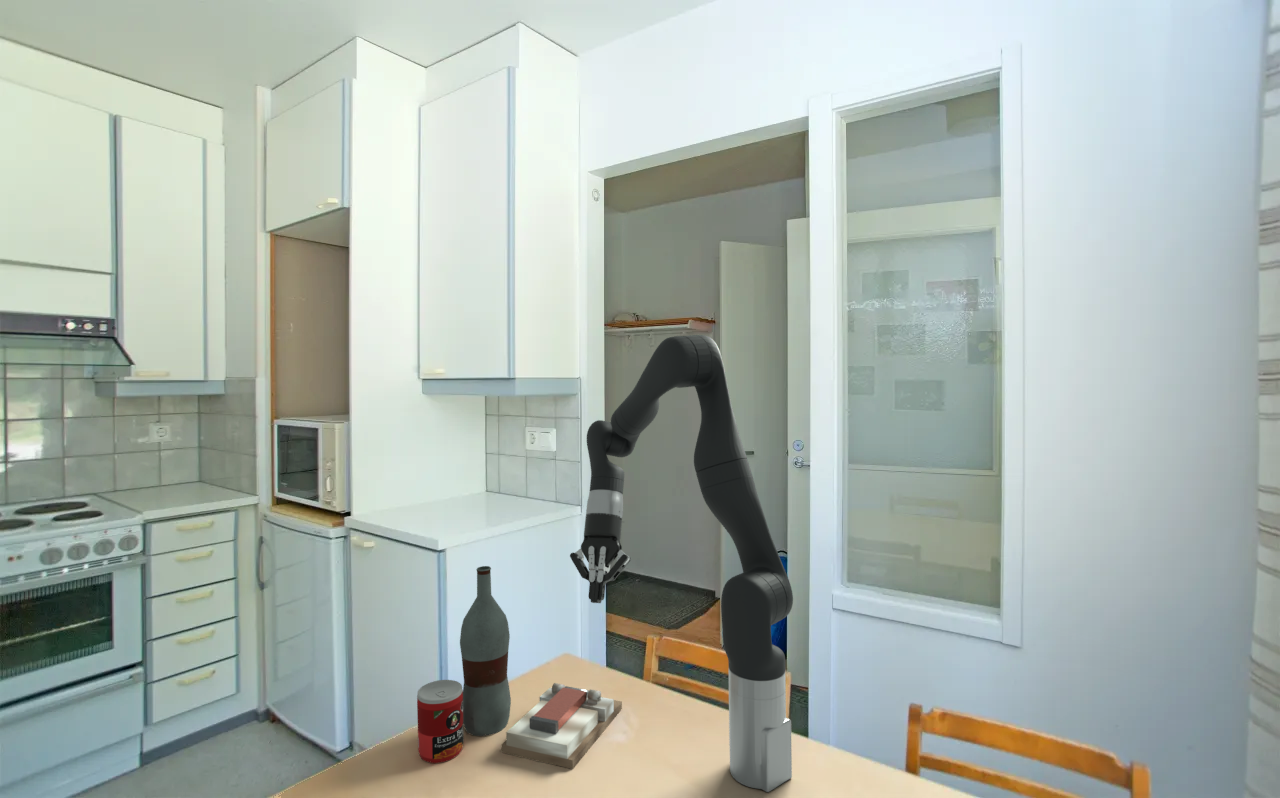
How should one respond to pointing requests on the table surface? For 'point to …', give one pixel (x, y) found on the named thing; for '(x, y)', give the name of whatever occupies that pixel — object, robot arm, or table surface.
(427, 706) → the canned food
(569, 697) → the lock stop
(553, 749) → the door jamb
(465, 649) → the bottle
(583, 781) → the table surface
